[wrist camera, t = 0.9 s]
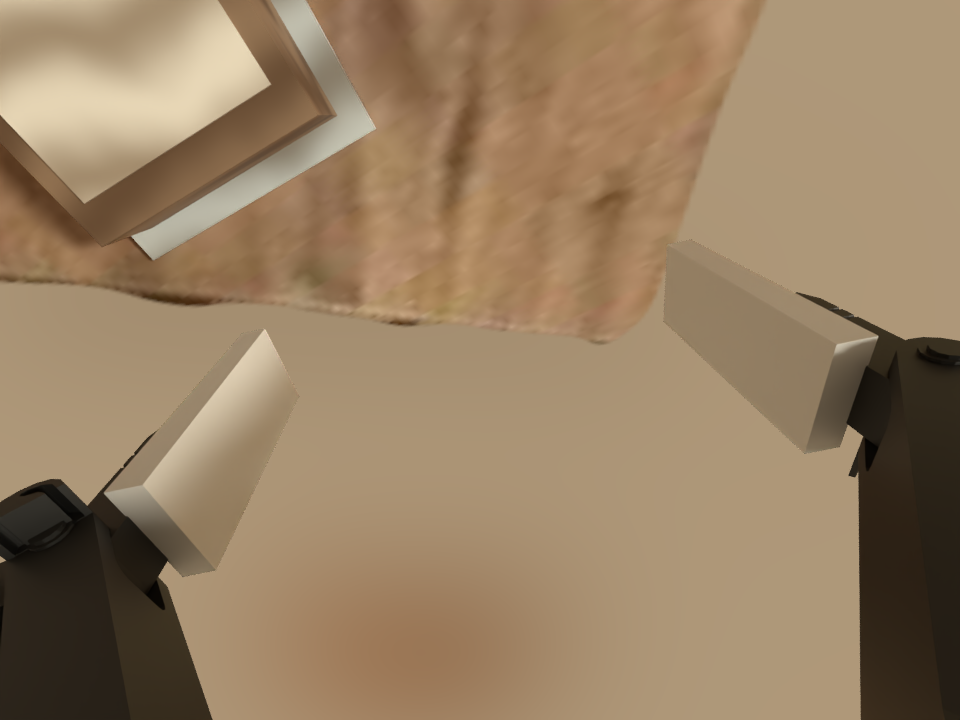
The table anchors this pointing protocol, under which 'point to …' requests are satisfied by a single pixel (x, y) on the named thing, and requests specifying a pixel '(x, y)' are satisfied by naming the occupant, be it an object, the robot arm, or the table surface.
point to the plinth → (169, 108)
